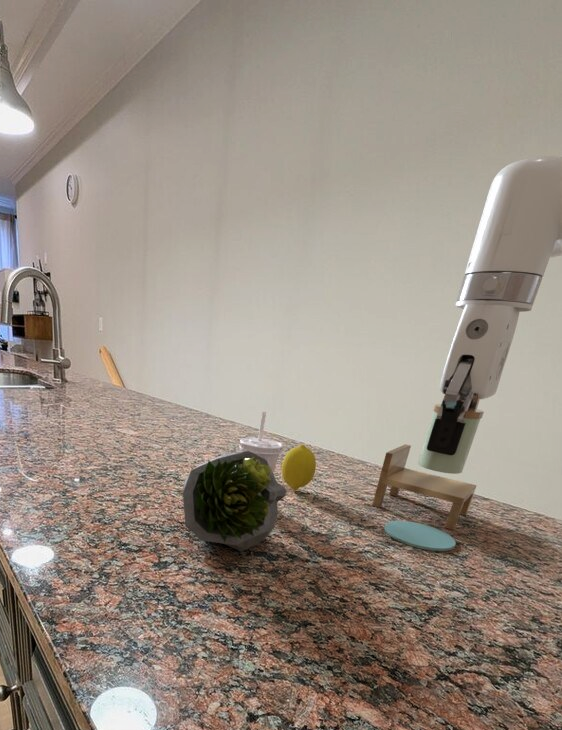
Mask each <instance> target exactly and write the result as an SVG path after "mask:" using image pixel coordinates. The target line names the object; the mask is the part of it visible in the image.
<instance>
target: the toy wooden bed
mask: <svg viewBox="0 0 562 730" xmlns="http://www.w3.org/2000/svg"><path fill="white" fill-rule="evenodd" d="M411 447H412V445H410V444H402V445H400V446H398V447H396V448H393V449H391V450H388V451H386V452H385V456H384V459H383V463H382V467H381V471H380V473H379V474H380V475H379V478H378V481H377V486H376V488H375V493H374V497H373V501H372V504H371V506H372V507H375V508H381V507H382V506H383V503H384V499H385V495H386V491H387V488H388V486H390V490H389V494H388V495H389V496H393V497H398V496H399V494H400V490H404V491H409V492H411V493H416V494H419V495H423V496H428V497H431V498H433V499H439V500H442V501H446V502H449V503H451V506H450V510H449V512H448V516H447V519H446V522H445V525H444V528H445V529H448V530H452V531H455V529H456V526H457V523H458V520H459V517H460V515H461V516H464V517H465V516H466V515H467V514H468V512H469V508H470V506H471V503H472V500H473V497H474V494H475V491H476V489H477V486H478V485H477V484H472V483H469V482H464V481H461V480H457V479H452V478H448V477H443V476H440V475H436V474H431V473H426V472H423V471H418V470H415V469H410V468H407V467H406V465H407V461H408V459H409V455H410V451H411Z"/></svg>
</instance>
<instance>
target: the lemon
mask: <svg viewBox="0 0 562 730" xmlns="http://www.w3.org/2000/svg"><path fill="white" fill-rule="evenodd" d="M316 468H317V461H316V456H315V454H314V453H313V451H312V450H311V449H309V447H307V446H306V445H305V444H300V445H298V446H295V447H293V448H290V449H289V450H288V451H287V452H286V454H285V456H284V458H283V461H282V463H281V476H282V479H283V481H284V482H285V483H286V484H287V486H289V487H290V488H291V489H292V490H293V491H297V490H298V489H300V488H304V487H306V486H307V485H309V483H311V481H312V480H313V478H314V476H315V473H316Z"/></svg>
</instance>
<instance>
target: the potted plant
mask: <svg viewBox="0 0 562 730" xmlns="http://www.w3.org/2000/svg"><path fill="white" fill-rule="evenodd" d="M286 495H287V489H286V487H285V486H284V485H282V484H280V483H279V482H278V481H277V479H276V477H275V474H273V472H272V470H271V468H270V466H269V464H268V462H267V460H266V459H265V458H264V457H262V456H259V455H257V454H255V453H252V452H250V451H244V452H241V451H237V452H236V451H235V452H228V453H224V454H222V455H219V456H218V457H215V458H212V459H208V460H207V461H206V462H203V463H201V464H199V465H198V466H196V467H194V468H192V469H191V470H190V471H189V473H188V474H187V476H186V477H185V480H184V485H183V489H182V502H183V515H184V525H185V527H186V529H188V530H189V531H190V532H191V533H192V534H193V535H194V536H195V537H196V538H197V539H199V541H201V542H210V543H218V544H224V545H226V546H228V547H230V548H232V549H234V550H236V551H239V552H240V553H242V552H244V551H246V550H248V549H250V548H251V547H254V546H256V545H259V544H260V543H262V542H263V541H264V540H265V539H266V538H267V537H269V535H270V534H271V532H272V531H273V530H274V528H275V525H276V521H277V518H278V515H279V509H278V502H280V501H281V500H282V499H284V498H285V497H286Z"/></svg>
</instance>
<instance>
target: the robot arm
mask: <svg viewBox="0 0 562 730" xmlns="http://www.w3.org/2000/svg"><path fill="white" fill-rule="evenodd" d="M560 256H561V257H562V156H554V155H546V156H545V155H544V156H534V157H529V158H524V159H521V160H516V161H514V162H511V163H508V165H506V166H504V167H503V168H501V169H500V170H499V172H497V174H496V175H495V176H494V178H493V180H492V182H491V183H490V187H489V190H488V193H487V197H486V199H485V203H484V206H483V211H482V214H481V216H480V220H479V224H478V227H477V231H476V233H475V236H474V241H473V244H472V247H471V250H470V254H469V258H468V260H467V265H466V268H465V271H464V274H463V278H462V280H461V284H460V289H459V291H458V293H457V294H458V295H457V298H456V301H455V305H454V308H456V309H463V310H462V313H461V316H460V318H459V321H458V323H457V327H456V330H455V333H454V336H453V339H452V342H451V345H450V348H449V350H448V354H447V357H446V360H445V364H444V368H443V371H442V375H441V377H440V378H441V379H440V383H439V391H440V392H441V393H442V394H443V398H442V401H441V403H440V404H441V406H440V409H439V412H438V414H437V418H436V419H435V422H434V426H433V429H432V432H431V435H430V439H429V442H428V445H427V450H428V451H432V452H437V453H442V454H446V455H454V454H455V453H456V451H457V448H458V445H459V442H460V439H461V436H462V433H463V430H464V427H465V424H466V423H463V421H464V418H465V416H466V413H467V410H468V408H473V409H478V406H479V403H480V401H481V400H485V399H489V398H491V397H493V396H494V395H496V393H497V390H498V388H499V384H500V380H501V377H502V375H503V370H504V367H505V365H506V362H507V359H508V356H509V352H510V349H511V345H512V343H513V339H514V336H515V333H516V328H517V325H518V321H519V316H520V313H523V312H524V313H526V312H531V311H532V308H533V305H534V303H535V300H536V298H537V295H538V292H539V289H540V287H541V283H542V280H543V277H544V276H545V272H546V269H547V266H548V265H549V261H550V259H551V258H555V257H560ZM461 407H462V408H461Z"/></svg>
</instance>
